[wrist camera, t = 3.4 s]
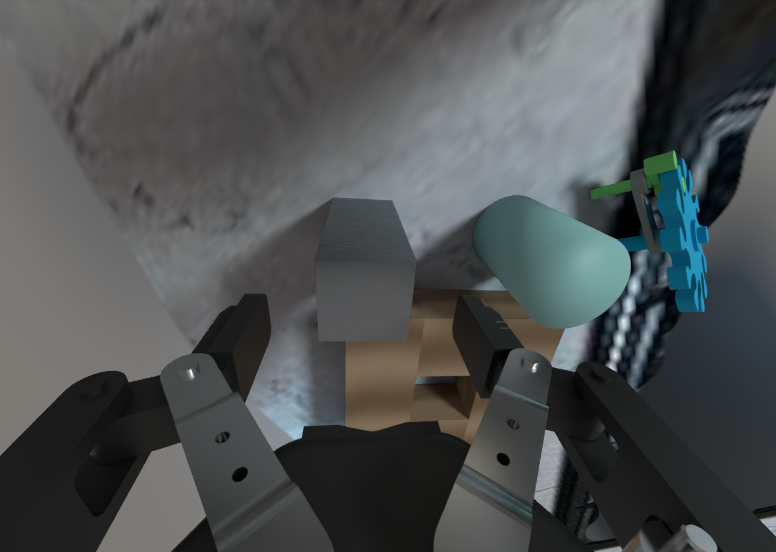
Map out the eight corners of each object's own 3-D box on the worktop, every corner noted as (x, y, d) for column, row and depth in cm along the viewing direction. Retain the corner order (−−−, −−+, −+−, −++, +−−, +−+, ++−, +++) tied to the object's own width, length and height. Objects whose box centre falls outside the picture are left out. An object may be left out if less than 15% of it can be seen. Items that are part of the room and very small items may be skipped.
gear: (720, 255, 23) (719, 348, 18) (625, 264, 28) (602, 340, 23) (693, 116, 20) (682, 180, 15) (590, 152, 25) (552, 211, 19)
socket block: (347, 288, 24) (345, 318, 20) (539, 291, 26) (568, 319, 22) (346, 423, 31) (344, 462, 28) (495, 418, 33) (512, 455, 29)
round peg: (481, 193, 21) (541, 231, 14) (556, 197, 22) (650, 236, 15) (466, 265, 24) (511, 328, 17) (533, 267, 24) (604, 328, 17)
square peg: (333, 197, 21) (314, 259, 12) (392, 200, 21) (416, 262, 12) (334, 252, 22) (318, 341, 14) (388, 253, 23) (407, 341, 14)
